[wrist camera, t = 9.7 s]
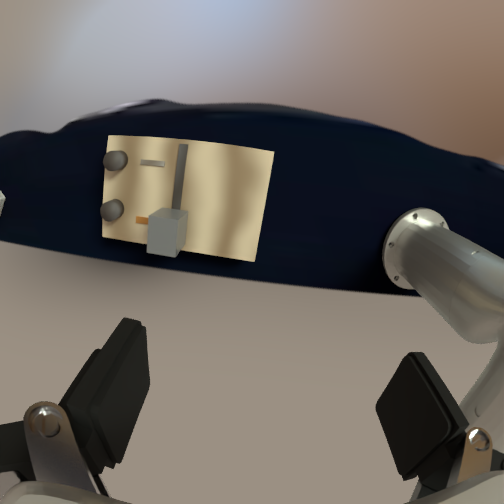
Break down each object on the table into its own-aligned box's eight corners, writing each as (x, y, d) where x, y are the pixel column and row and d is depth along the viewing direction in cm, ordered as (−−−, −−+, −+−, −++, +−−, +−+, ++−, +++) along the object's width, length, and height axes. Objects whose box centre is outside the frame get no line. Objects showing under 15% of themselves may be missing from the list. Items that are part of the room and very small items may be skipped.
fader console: (272, 152, 33) (275, 151, 27) (254, 250, 37) (254, 268, 32) (122, 136, 32) (100, 135, 26) (115, 228, 36) (95, 241, 31)
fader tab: (188, 211, 31) (178, 219, 27) (185, 244, 32) (175, 257, 28) (162, 207, 31) (148, 215, 27) (159, 240, 32) (146, 252, 28)
